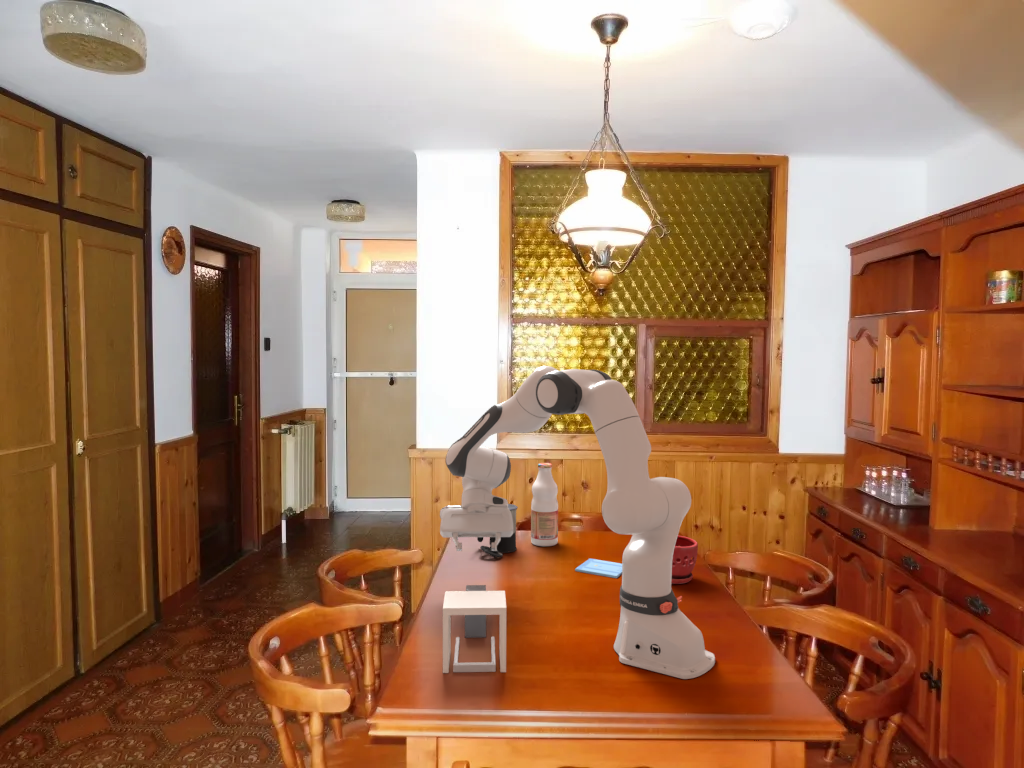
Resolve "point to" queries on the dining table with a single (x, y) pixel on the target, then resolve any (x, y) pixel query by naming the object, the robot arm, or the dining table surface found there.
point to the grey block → (475, 618)
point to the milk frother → (503, 539)
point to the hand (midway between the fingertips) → (476, 550)
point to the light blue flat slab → (601, 568)
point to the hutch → (474, 606)
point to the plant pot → (683, 560)
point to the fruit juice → (544, 508)
